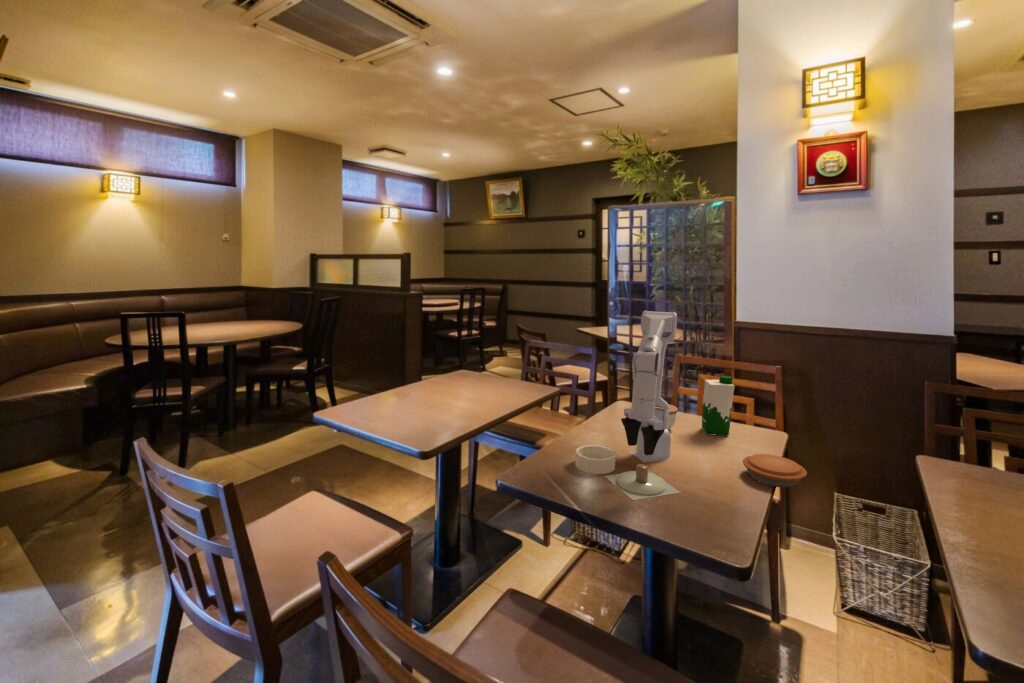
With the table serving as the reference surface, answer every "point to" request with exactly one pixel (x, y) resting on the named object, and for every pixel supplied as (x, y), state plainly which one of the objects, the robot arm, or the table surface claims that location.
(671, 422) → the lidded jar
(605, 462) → the bowl
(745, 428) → the table surface
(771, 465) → the pie
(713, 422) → the milk carton
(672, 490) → the mat
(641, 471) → the lid
